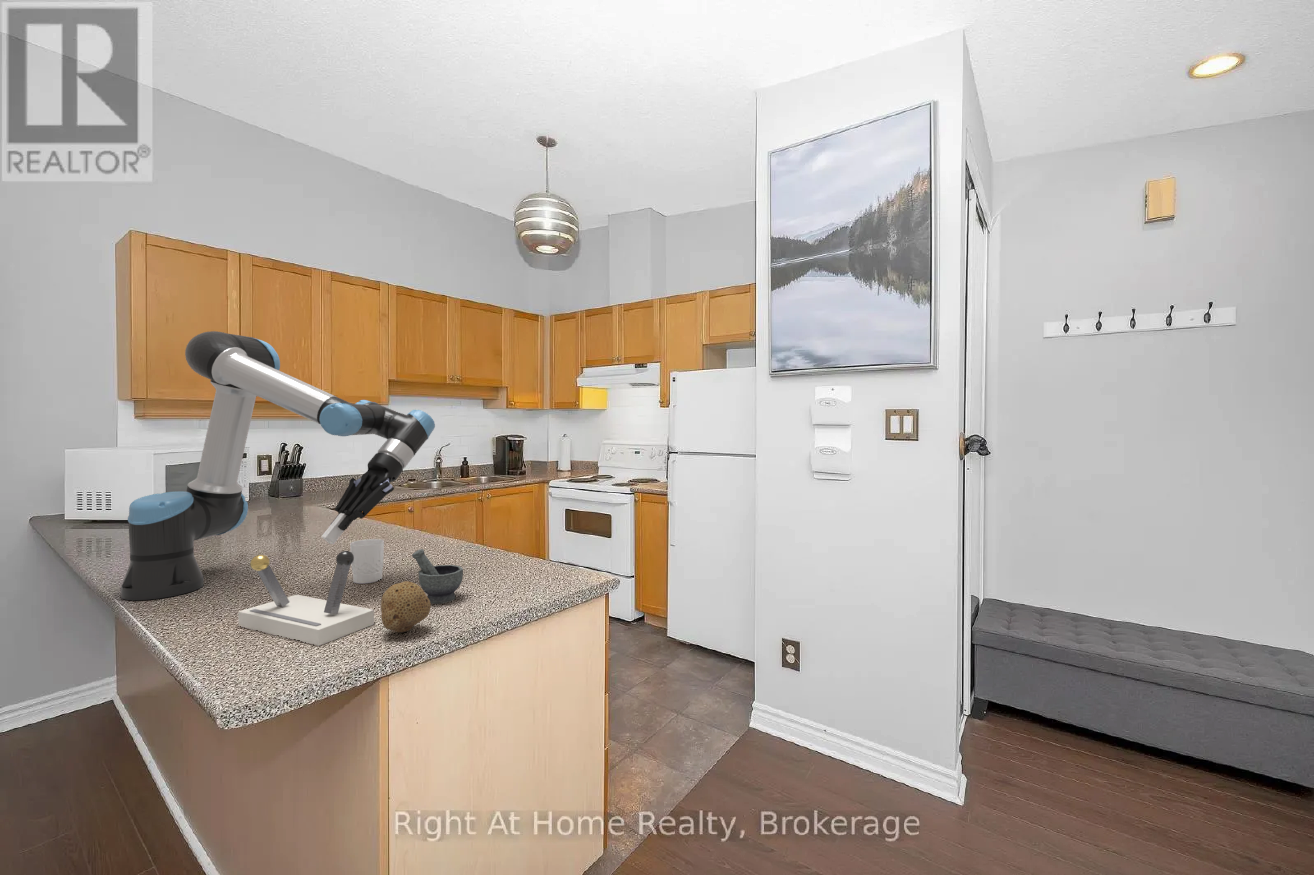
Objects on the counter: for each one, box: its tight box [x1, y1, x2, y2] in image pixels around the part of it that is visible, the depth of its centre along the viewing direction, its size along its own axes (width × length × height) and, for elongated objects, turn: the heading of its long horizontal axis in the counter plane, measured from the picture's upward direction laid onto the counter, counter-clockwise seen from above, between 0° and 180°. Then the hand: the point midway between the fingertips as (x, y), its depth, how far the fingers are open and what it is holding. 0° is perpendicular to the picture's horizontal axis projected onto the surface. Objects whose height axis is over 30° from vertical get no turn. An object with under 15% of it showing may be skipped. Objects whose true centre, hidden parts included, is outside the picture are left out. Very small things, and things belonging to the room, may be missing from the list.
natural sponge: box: [380, 580, 432, 634], centre depth 111 cm, size 9×9×10 cm
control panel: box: [237, 594, 375, 647], centre depth 114 cm, size 12×24×3 cm, turn 67°
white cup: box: [349, 538, 385, 585], centre depth 146 cm, size 8×8×10 cm
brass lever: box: [249, 554, 289, 607], centre depth 114 cm, size 3×3×12 cm
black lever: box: [324, 550, 354, 614], centre depth 113 cm, size 3×3×12 cm
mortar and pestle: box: [411, 548, 464, 605], centre depth 131 cm, size 11×9×12 cm
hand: (327, 540), depth 125 cm, fingers closed
